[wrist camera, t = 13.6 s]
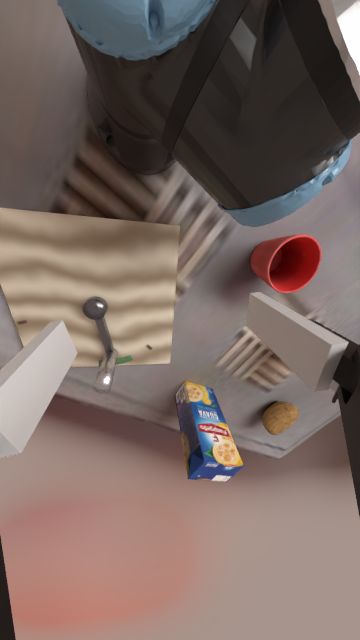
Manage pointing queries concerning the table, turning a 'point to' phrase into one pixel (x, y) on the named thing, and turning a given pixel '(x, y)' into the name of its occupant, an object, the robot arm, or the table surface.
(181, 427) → the beverage box
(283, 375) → the table surface
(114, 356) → the grey long handled part
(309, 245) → the flower pot
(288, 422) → the potato
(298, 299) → the table surface
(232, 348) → the table surface
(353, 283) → the table surface
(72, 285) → the dial board
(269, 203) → the robot arm
